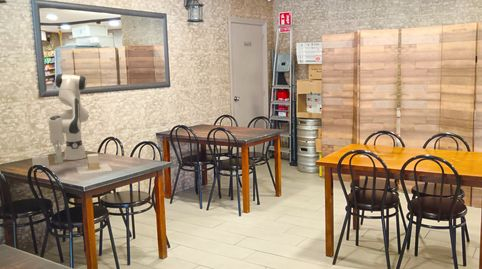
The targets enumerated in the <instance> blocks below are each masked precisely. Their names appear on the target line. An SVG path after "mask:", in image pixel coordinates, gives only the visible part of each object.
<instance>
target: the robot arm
mask: <svg viewBox="0 0 482 269" xmlns="http://www.w3.org/2000/svg"><path fill="white" fill-rule="evenodd" d="M54 83H55V86H56V87H57V88H59V91H58V100H59V101H60V102H61V103H62V104H64V105H65V106H68V107H71V108H70V109H61V110H59V111H56V112H55V114H54V116H51V117H49V119H48V129H49V132H50V134H49V139H50V140H49V141H50V145H51V144H52V146H53V148H54V153H55V155H56V156H57V158H58V161H61V156H62V155H63V153H64V156H63V161H64V160H67V161H76V160H77V161H78V160H81V159H83V160H84V159H86V158H87V155H88V154H86V150H85V149H86V148H85V146H84V145H83V140H82V135H81V134H82V133H81V129H82V124H81V123H83V122H87V121H88V120H89V116H90V114H89V111H88V110H87V109H85V108H84V107H83V106H82V104H81V91H83V90H85V89H86V88H87V84H88V82H87V78H86V76H82V75H76V74H68V73H64V74H63V73H58V74H57V75H56V77H55V79H54ZM65 139H66V141H65ZM63 143H65V144H66V145H65V148H64V150H62V146H63ZM62 151H63V153H62Z"/></svg>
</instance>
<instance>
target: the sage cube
mask: <svg viewBox="0 0 482 269" xmlns="http://www.w3.org/2000/svg"><path fill="white" fill-rule="evenodd" d="M63 157H64V156H63V154H62V156H61V161H58V158H57V156H56V154H54V163H55V164H63V163H64V160H63Z"/></svg>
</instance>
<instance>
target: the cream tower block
mask: <svg viewBox="0 0 482 269" xmlns="http://www.w3.org/2000/svg"><path fill="white" fill-rule="evenodd" d="M86 155H87V157H86V158H87V164H88V163H97V162H99V163H100V157H99V154H98V153H91V154H90V153H89V154H86Z"/></svg>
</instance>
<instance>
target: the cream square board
mask: <svg viewBox="0 0 482 269" xmlns="http://www.w3.org/2000/svg"><path fill="white" fill-rule="evenodd" d="M99 166H100V169H97V170H89V169H88V165H85V166H76V168H75V169H76V171H77V173H78V174H79V175H86V174H93V173H95V174H96V173H103V172H110V171H113V169H112V168H111V166H110V165H109V164H108V163H103V164H99Z"/></svg>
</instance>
